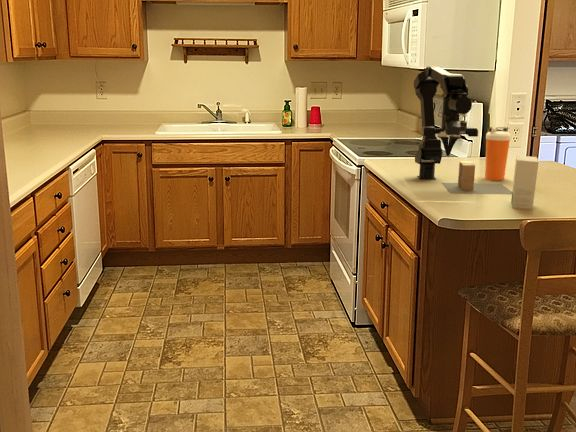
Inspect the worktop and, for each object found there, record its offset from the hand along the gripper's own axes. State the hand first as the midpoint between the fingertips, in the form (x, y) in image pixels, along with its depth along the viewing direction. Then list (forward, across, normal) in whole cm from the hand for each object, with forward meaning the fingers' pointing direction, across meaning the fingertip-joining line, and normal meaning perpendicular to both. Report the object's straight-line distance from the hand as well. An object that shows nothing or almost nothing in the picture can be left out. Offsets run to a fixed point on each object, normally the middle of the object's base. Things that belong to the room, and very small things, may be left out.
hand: (447, 155), depth 227 cm
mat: (+12, +11, 0) cm, 16 cm away
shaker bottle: (+12, +22, +19) cm, 32 cm away
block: (+12, +7, 0) cm, 13 cm away
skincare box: (+12, +20, -24) cm, 34 cm away
